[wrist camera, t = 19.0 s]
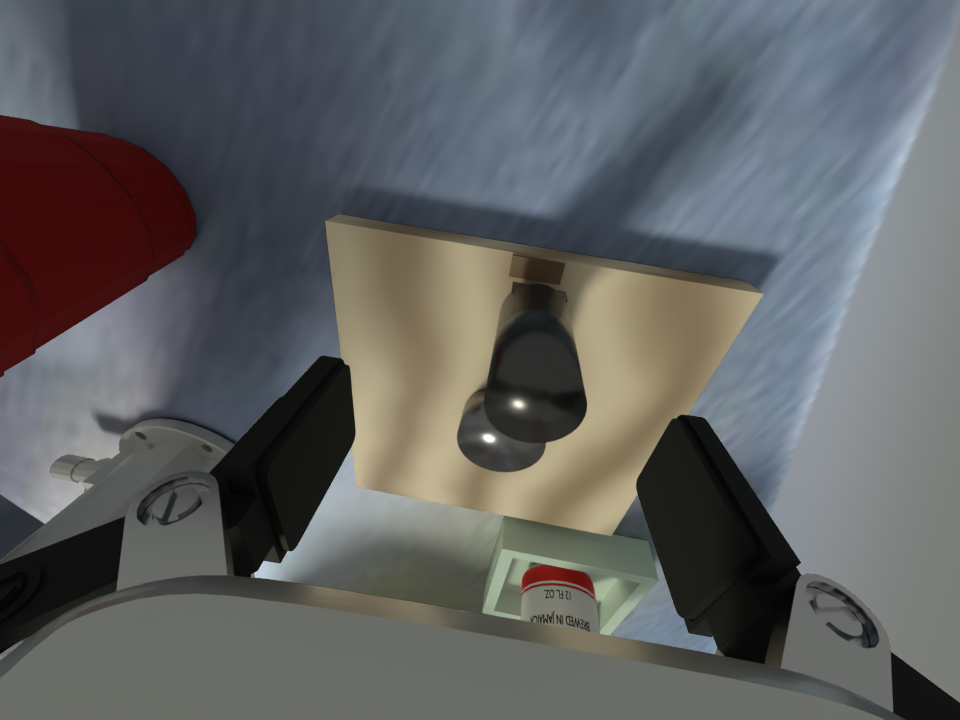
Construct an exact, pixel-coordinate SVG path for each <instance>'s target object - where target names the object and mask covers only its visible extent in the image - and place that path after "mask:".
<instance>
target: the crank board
mask: <svg viewBox="0 0 960 720" xmlns="http://www.w3.org/2000/svg"><path fill="white" fill-rule="evenodd" d="M325 226H326V234H327V242H328V251H329V259H330V268H331V276H332V284H333V293H334V301H335V310H336V318H337V326H338V335H339V343H340V352H341V359H343V360H344V363H345V364H346V365H349V367H350V372H351V384H352V395H353V406H354V417H355V428H356V435H355V440H354V443H353V445H352V453H353V461H354V469H355V478H356V486H357V487H360V488H365V489H370V490H376V491H381V492H386V493H391V494H396V495H401V496H407V497H412V498H417V499H422V500H427V501H432V502H437V503H443V504H448V505H453V506H458V507H463V508H468V509H474V510H479V511H484V512H489V513H494V514H499V515H505V516H510V517H515V518H520V519H525V520H530V521H536V522H541V523H546V524H551V525H556V526H561V527H566V528H572V529H577V530H582V531H587V532H592V533H597V534H603V535H608V536H612V534H613V533H614V531H615V529H616V528H617V526H618V525H619V523H620V521H621V520H622V518H623V517H624V515H625V513H626V512H627V510H628V509H629V507H630V506H631V504H632V502H633V501H634V499H635V498H636V496H637V490H636V481H637V478H638V476H639V475H640V473H641V471H642V469H643V468H644V466H645V464H646V462H647V461H648V459H649V457H650V456H651V454H652V452H653V450H654V449H655V447H656V445H657V443H658V442H659V440H660V438H661V436H662V435H663V433H664V431H665V429H666V428H667V426H668V424H669V422H670V421H671V420H672V419H673V418H677V417H678V416H679V415H683V414H684V415H688V413H689V412H690V410H691V409H692V407H693V405H694V404H695V402H696V401H697V399H698V398H699V396H700V394H701V393H702V391H703V390H704V388H705V386H706V385H707V383H708V382H709V380H710V378H711V377H712V375H713V374H714V372H715V371H716V369H717V367H718V366H719V364H720V363H721V361H722V359H723V358H724V356H725V355H726V353H727V351H728V350H729V348H730V347H731V345H732V344H733V342H734V340H735V339H736V337H737V336H738V334H739V332H740V331H741V329H742V328H743V326H744V324H745V323H746V321H747V320H748V318H749V317H750V315H751V313H752V312H753V310H754V309H755V307H756V305H757V304H758V302H759V301H760V299H761V297H762V296H763V293H762V292H760V291H759V290H758V289H756V288H755V287H753V286H752V285H751V284H749V283H748V282H746V281H740V280H734V279H728V278H722V277H716V276H710V275H704V274H698V273H692V272H686V271H679V270H673V269H667V268H661V267H655V266H649V265H643V264H637V263H631V262H625V261H619V260H613V259H607V258H601V257H595V256H589V255H583V254H577V253H571V252H565V251H559V250H553V249H547V248H541V247H534V246H528V245H522V244H516V243H510V242H504V241H498V240H492V239H486V238H480V237H474V236H468V235H462V234H456V233H450V232H444V231H438V230H432V229H426V228H420V227H414V226H408V225H402V224H396V223H389V222H383V221H377V220H371V219H365V218H359V217H353V216H347V215H341V214H339V215H337V216H335V217H333V218H330V219H328V220H326V221H325ZM513 281H514V282H519V283H524V284H544V285H548V286H550V287H552V288H554V289H556V290H560V291H566V294H567V299H568V302H567V304H568V307H569V312H570V317H571V322H572V327H573V332H574V337H575V342H576V348H577V353H578V358H579V363H580V368H581V373H582V378H583V384H584V389H585V394H586V399H587V411H586V415H585V418H584V419H583V421H582V423H581V424H580V425H579V427H578V428H577V429H576V430H575V431H573V432H572V433H571V434H569V435H567V436H566V437H563V438H561V439H559V440H556V441H552V442H547V443H546V447H545V451H544V454H543V456H542V457H541V458H540V460H539V461H538V462H536V463H535V464H534V465H532V466H530V467H529V468H526V469H524V470H520V471H516V472H496V471H491V470H487V469H484V468H482V467H479V466H477V465H476V464H474V463H472V462H471V461H470V460H468V459H467V458H466V457H465V456H464V455H463V453H462V452H461V450H460V448H459V446H458V443H457V432H458V428H459V424H460V420H461V416H462V412H463V408H464V405H465V403H466V402H467V400H468V399H469V398H470V397H471V396H472V395H473V394H474V393H476V392H477V391H479V390H482V389H484V388H486V385H487V379H488V374H489V369H490V363H491V358H492V352H493V347H494V342H495V336H496V331H497V325H498V320H499V315H500V309H501V306H502V304H503V301H504V300H505V298H506V297H507V296H508V295H509V294H510V292H511V288H512V283H513Z"/></svg>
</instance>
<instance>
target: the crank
mask: <svg viewBox="0 0 960 720" xmlns="http://www.w3.org/2000/svg"><path fill="white" fill-rule="evenodd" d="M567 302H568V299H567V294H566V291H560V290H556V289H554V288H552V287H550V286H548V285H544V284H524V283H519V282H514V281H513V283H512V288H511V292H510V294H509V295H508V296H507V297H506V298H505V300H504V301H503V304H502V306H501V309H500V315H499V320H498V325H497V331H496V336H495V342H494V347H493V352H492V358H491V363H490V369H489V374H488V379H487V385H486V388H484V389H482V390H479V391H477V392H476V393H474V394H473V395H472V396H471V397H470V398H469V399H468V400H467V402H466V403H465V405H464V408H463V412H462V416H461V420H460V424H459V428H458V432H457V443H458V446H459V448H460V450H461V452H462V453H463V455H464V456H465V457H466V458H467V459H468V460H470V461H471V462H472V463H474V464H476V465H477V466H479V467H482V468H484V469H487V470H491V471H496V472H516V471H520V470H524V469H526V468H529V467H530V466H532V465H534V464H535V463H536V462H538V461H539V460H540V458H541V457H542V456H543V454H544V451H545V447H546V443H547V442H552V441H556V440H559V439H561V438H563V437H566V436H567V435H569V434H571V433H572V432H573V431H575V430H576V429H577V428H578V427H579V425H580V424H581V423H582V421H583V419H584V418H585V415H586V411H587V399H586V394H585V389H584V384H583V378H582V373H581V368H580V363H579V358H578V353H577V348H576V342H575V337H574V332H573V327H572V322H571V317H570V312H569V307H568V304H567Z"/></svg>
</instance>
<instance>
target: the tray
mask: <svg viewBox="0 0 960 720" xmlns="http://www.w3.org/2000/svg"><path fill="white" fill-rule="evenodd" d="M534 563H541V564H546V565H551V566H556V567H561V568H566V569H571V570H576V571H582V572H585V573H586V574H587V575H588V576H589V577H590V578H591V581H592V583H593V585H594V590H595V597H596V605H597V613H598V621H599V629H600V634H603V635H610V634H611V633H612V632H613V631H614V629H615V628H616V627H617V626H618V625H619V624H620V623H621V622H622V620H623V619H624V618H625V617H626V616H627V615H628V614H629V613H630V611H631V610H632V609H633V608H634V607H635V606H636V605H637V604H638V602H639V601H640V600H641V599H642V598H643V597H644V596H645V595H646V593H647V592H648V591H649V590H650V589H651V588H652V587H653V586H654V584H655V583H656V582H657V581H658V580H659V579H658V575H657V572H656V568H655V564H654V561H653V557H652V554H651V550H650V546H649V543H648V541H646V540H641V539H635V538H630V537H625V536H620V535H615V534H612V536H608V535H603V534H597V533H592V532H587V531H582V530H577V529H572V528H566V527H561V526H556V525H551V524H546V523H541V522H536V521H530V520H525V519H520V518H515V517H510V516H505V515H504V518H503V521H502V525H501V528H500V532H499V535H498V538H497V542H496V545H495V549H494V552H493V556H492V559H491V563H490V566H489V570H488V573H487V576H486V580H485V590H484V599H483V608H482V613H484V614H489V615H494V616H499V617H505V618H511V619H517V620H521V585H522V577H523V575H524V573H525V572H526V571H527V570H528V569H529V568H530V567H531V566H532V565H533V564H534Z"/></svg>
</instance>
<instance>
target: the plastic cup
mask: <svg viewBox="0 0 960 720" xmlns="http://www.w3.org/2000/svg"><path fill="white" fill-rule="evenodd" d="M195 236H196V224H195V214H194V211H193V209H192V207H191V204H190V202H189V200H188V197H187V195H186V193H185V191H184V189H183V188H182V187H181V185H180V184H179V183H178V181H177V180H176V179H175V177H174V176H173V175H172V173H171V172H170V171H169V170H168V168H167V167H166V166H164V165H163V164H162V163H161V162H159V161H158V160H157V159H156V158H155V157H153V156H152V155H151V154H150V153H148V152H147V151H146V150H145V149H143V148H140V147H138V146H136V145H134V144H131V143H129V142H127V141H124V140H122V139H118V138H113V137H111V136H108V135H106V134H101V133H94V132H87V131H81V130H74V129H67V128H61V127H54V126H47V125H41V124H38V123H36V122H34V121H31V120H27V119H21V118H15V117H9V116H3V115H0V377H2V376H3V375H4V371H6V370H8V369H9V368H11V367H13V366H14V365H16V364H18V363H19V362H21V361H23V360H25V359H26V358H28V357H30V356H31V355H33V354H35V351H36V349H37V348H39V347H41V346H42V345H44V344H46V343H47V342H49V341H50V340H52V339H54V338H55V337H57V336H58V335H60V334H62V333H63V332H65V331H66V330H68V329H70V328H71V327H73V326H74V325H76V324H78V323H79V322H81V321H82V320H84V319H86V318H87V317H89V316H90V315H92V314H94V313H95V312H97V311H98V310H100V309H102V308H103V307H105V306H106V305H108V304H110V303H111V302H113V301H114V300H116V299H118V298H119V297H121V296H122V295H124V294H126V293H127V292H129V291H131V290H132V289H134V288H135V287H137V286H139V285H140V284H142V283H143V282H145V281H147V279H148V277H149V276H150V275H152V274H153V273H155V272H156V271H158V270H160V269H161V268H163V267H165V266H166V265H168V264H169V263H171V262H173V261H174V260H176V259H178V258H179V257H181V256H182V255H184V252H185V251H186V250H188V249H189V248H190V247H191V245H192V243H193V240H194V238H195Z"/></svg>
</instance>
